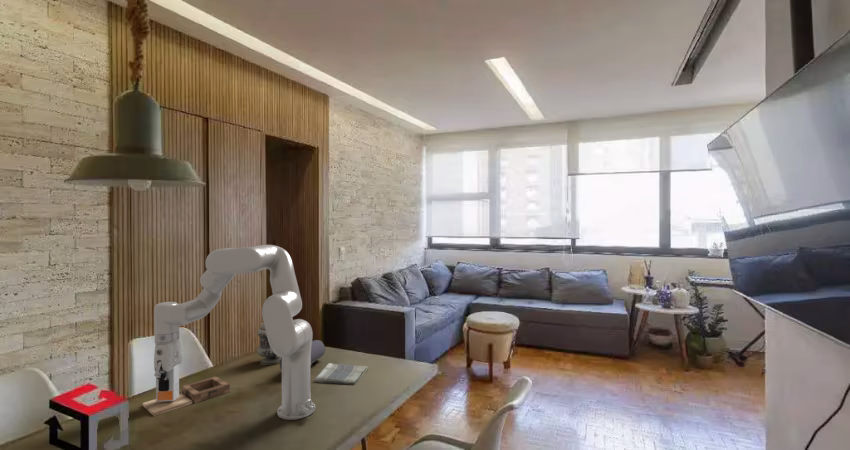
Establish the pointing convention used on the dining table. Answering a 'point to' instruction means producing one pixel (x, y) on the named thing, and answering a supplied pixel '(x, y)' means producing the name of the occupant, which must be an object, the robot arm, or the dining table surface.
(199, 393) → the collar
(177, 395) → the skincare box
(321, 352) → the bluetooth speaker
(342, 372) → the dish towel
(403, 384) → the dining table surface
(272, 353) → the grey tall piece
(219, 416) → the dining table surface
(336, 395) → the dining table surface
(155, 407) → the pad
